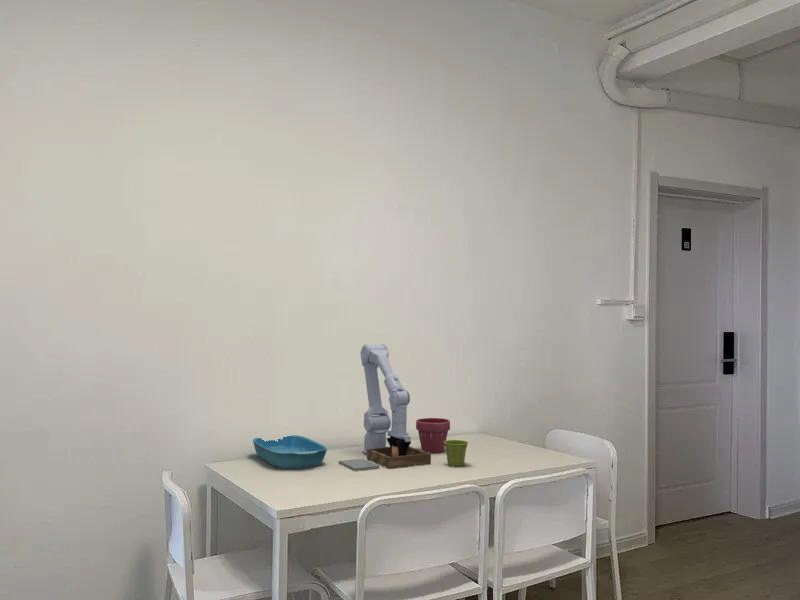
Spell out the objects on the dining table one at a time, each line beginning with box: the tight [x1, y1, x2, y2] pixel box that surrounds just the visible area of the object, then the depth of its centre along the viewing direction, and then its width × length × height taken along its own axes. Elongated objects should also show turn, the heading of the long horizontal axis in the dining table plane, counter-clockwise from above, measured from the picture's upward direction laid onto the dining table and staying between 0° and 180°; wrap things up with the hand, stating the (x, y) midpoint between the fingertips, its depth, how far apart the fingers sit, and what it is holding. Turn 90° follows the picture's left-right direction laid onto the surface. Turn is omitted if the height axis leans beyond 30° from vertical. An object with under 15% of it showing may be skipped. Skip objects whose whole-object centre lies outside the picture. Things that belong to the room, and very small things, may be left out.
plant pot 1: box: [415, 417, 451, 454], centre depth 300 cm, size 14×14×13 cm
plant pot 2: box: [444, 439, 469, 467], centre depth 275 cm, size 9×9×9 cm
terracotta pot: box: [392, 445, 399, 457], centre depth 279 cm, size 5×5×6 cm
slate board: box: [338, 458, 380, 472], centre depth 270 cm, size 14×10×1 cm
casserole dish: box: [252, 434, 328, 470], centre depth 278 cm, size 37×22×7 cm, turn 30°
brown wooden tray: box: [366, 445, 432, 469], centre depth 279 cm, size 18×18×4 cm
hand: (398, 457), depth 279 cm, fingers closed on terracotta pot, 5 cm apart
